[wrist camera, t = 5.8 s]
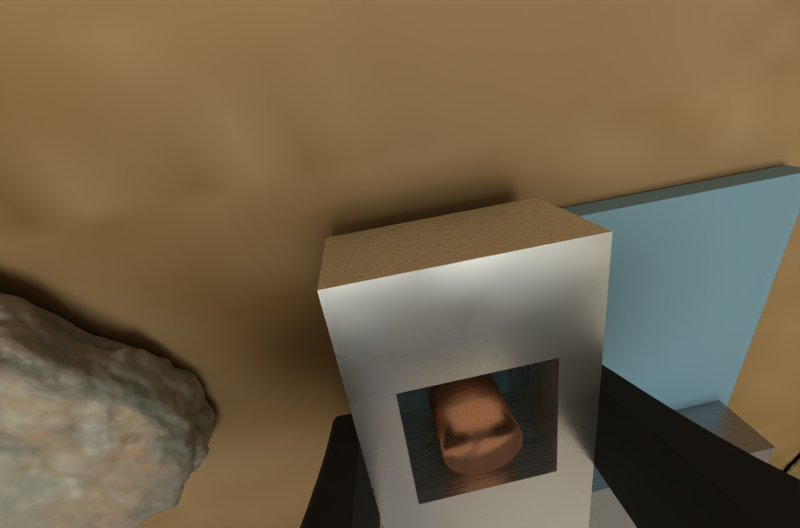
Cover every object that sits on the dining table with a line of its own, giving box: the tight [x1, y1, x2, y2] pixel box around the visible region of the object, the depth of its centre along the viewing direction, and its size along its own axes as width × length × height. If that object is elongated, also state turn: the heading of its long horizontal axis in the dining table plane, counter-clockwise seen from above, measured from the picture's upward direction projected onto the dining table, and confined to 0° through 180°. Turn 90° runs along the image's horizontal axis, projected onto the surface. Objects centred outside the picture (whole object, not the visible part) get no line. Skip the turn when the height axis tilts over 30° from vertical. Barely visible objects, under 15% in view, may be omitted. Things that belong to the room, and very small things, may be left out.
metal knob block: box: [589, 400, 775, 528], centre depth 14 cm, size 3×8×5 cm, turn 98°
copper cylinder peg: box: [425, 373, 523, 475], centre depth 10 cm, size 2×2×3 cm
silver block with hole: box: [317, 197, 613, 528], centre depth 10 cm, size 6×9×3 cm, turn 8°
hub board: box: [398, 165, 800, 414], centre depth 14 cm, size 16×14×1 cm
